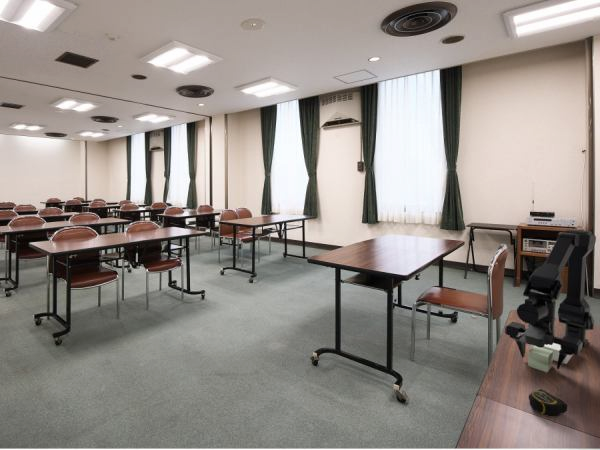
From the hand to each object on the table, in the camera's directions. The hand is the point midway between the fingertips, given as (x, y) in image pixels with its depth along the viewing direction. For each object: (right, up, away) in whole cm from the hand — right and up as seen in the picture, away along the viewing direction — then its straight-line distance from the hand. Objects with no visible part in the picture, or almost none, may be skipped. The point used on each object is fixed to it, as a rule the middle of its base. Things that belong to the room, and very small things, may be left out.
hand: (540, 362), depth 107 cm
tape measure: (-12, -4, -19) cm, 23 cm away
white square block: (+9, 0, +8) cm, 12 cm away
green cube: (0, -1, 0) cm, 1 cm away
